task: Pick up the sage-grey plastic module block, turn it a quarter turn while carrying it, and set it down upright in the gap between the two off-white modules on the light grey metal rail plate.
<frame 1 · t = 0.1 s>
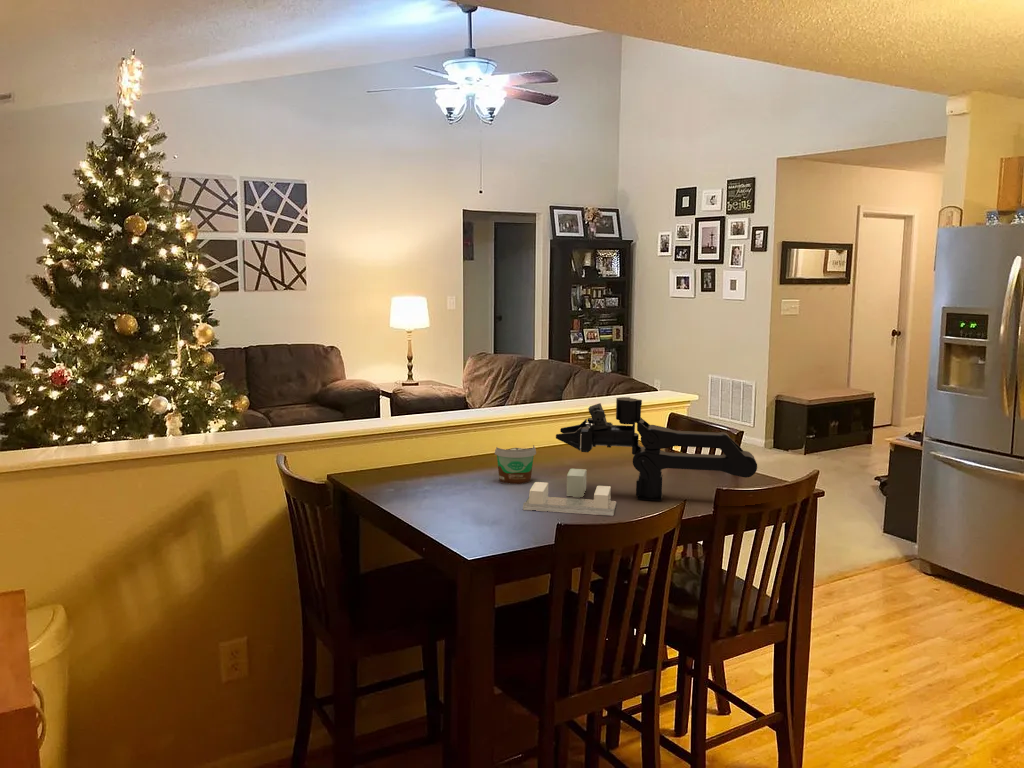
hand: (558, 433, 228), 17 cm above the table, tool horizontal, fingers open, 9 cm apart
food container: (517, 482, 240), on the table
module block: (576, 493, 229), on the table
rail plate: (570, 507, 216), on the table
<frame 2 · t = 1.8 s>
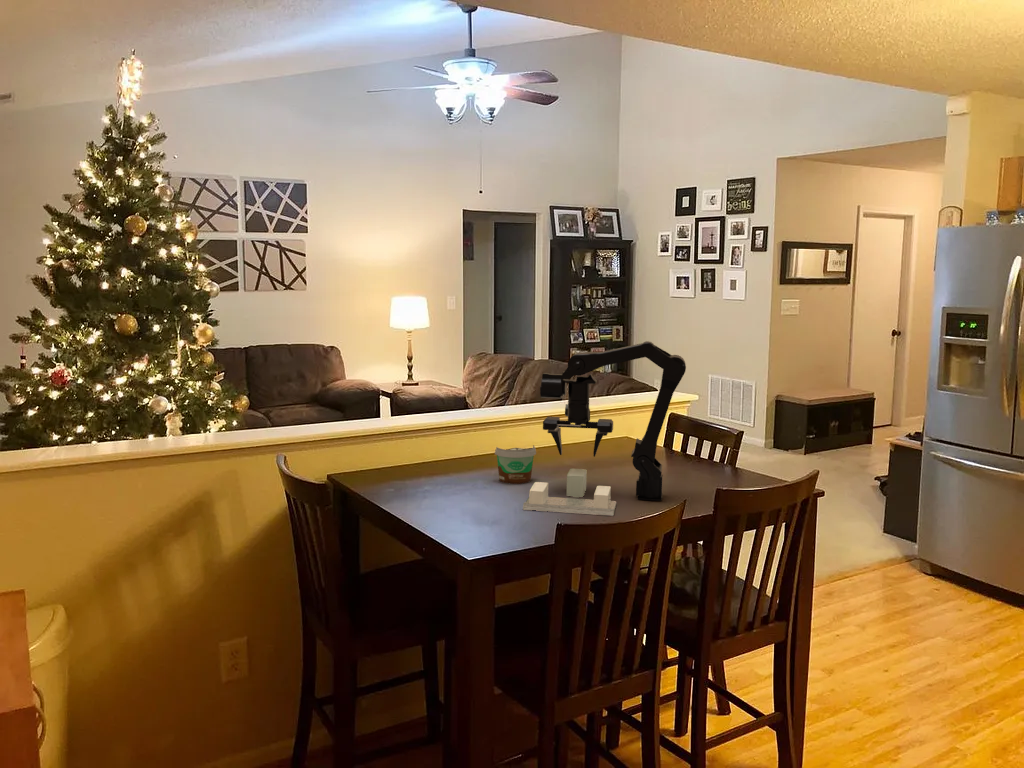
hand: (577, 455, 228), 11 cm above the table, tool pointing down, fingers open, 9 cm apart
nothing on the table moved.
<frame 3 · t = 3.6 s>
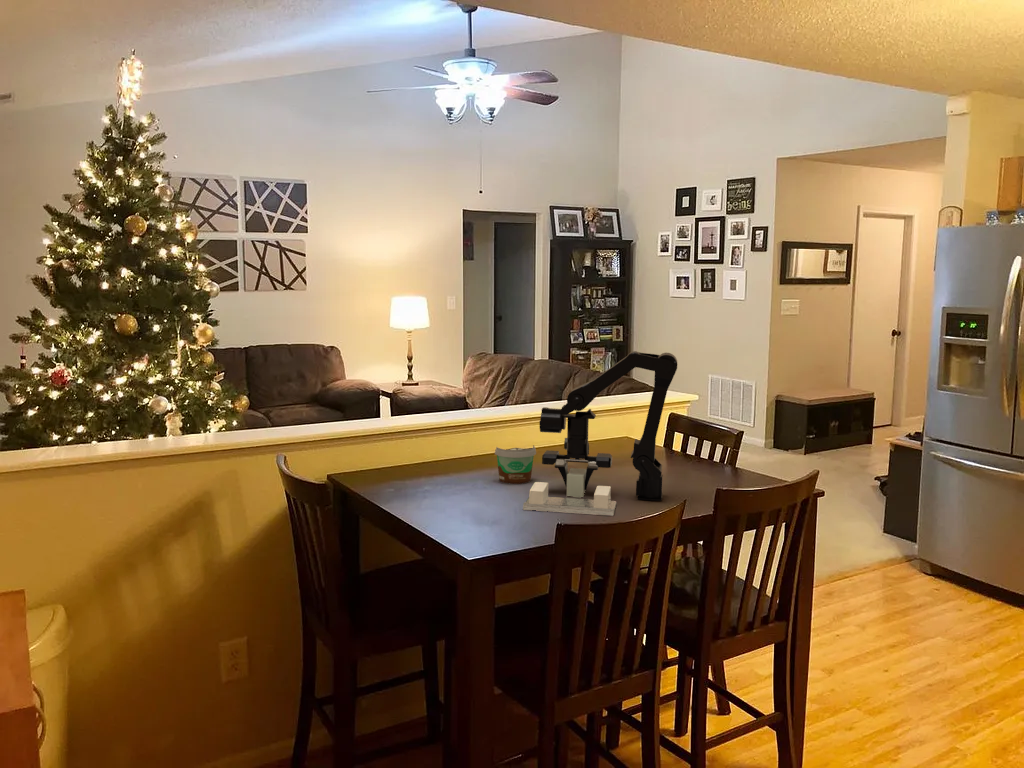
hand: (576, 489, 229), 1 cm above the table, tool pointing down, fingers closed on module block, 4 cm apart
module block: (576, 493, 229), on the table, touching gripper
everything else where it was.
when the fingers open (3 cm above the table, at t = 10.2 s): module block drops 1 cm, resting on rail plate.
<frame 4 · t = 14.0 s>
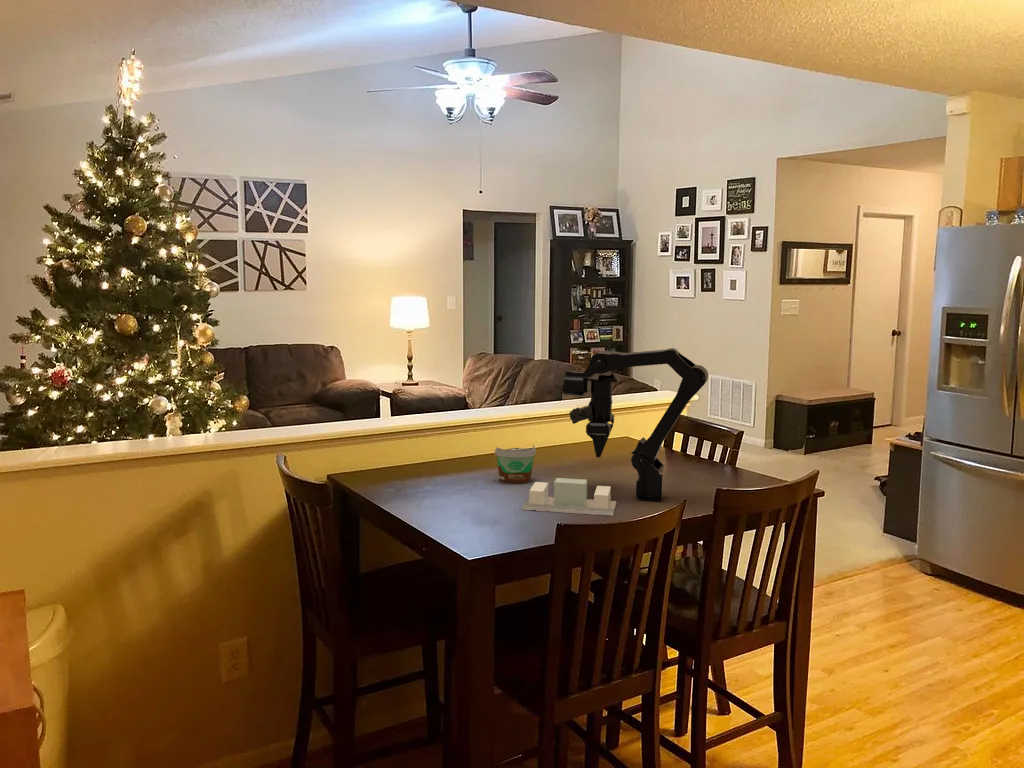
hand: (599, 453, 228), 11 cm above the table, tool pointing down, fingers open, 9 cm apart
module block: (570, 503, 215), point 1 cm above the table, touching rail plate
everything else where it was.
at the end: module block 0.0 cm off-centre on the rail plate, point 1.0 cm above the rail plate's base; module block tilted 0°; the gripper is holding nothing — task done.
